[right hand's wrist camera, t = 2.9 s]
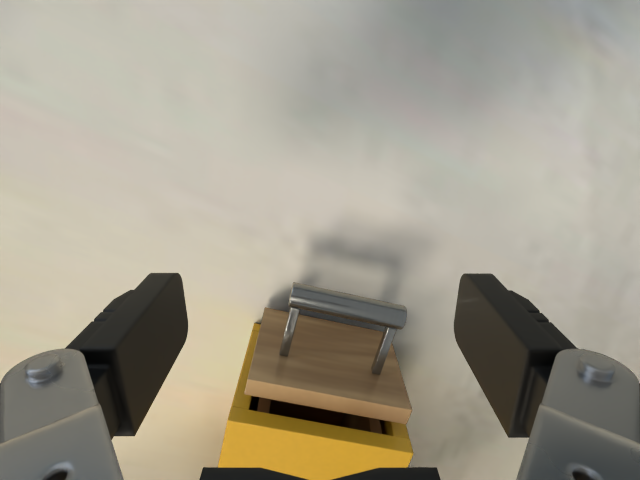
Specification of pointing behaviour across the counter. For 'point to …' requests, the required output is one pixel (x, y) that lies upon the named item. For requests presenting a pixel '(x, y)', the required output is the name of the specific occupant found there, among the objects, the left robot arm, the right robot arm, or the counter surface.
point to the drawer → (330, 362)
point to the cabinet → (305, 440)
